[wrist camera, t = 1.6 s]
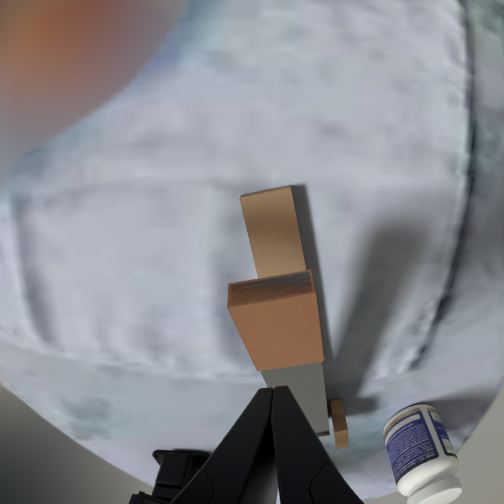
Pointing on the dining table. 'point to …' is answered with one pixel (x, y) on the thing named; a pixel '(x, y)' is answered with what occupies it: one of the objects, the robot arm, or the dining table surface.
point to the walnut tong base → (281, 256)
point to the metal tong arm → (284, 337)
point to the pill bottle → (422, 456)
